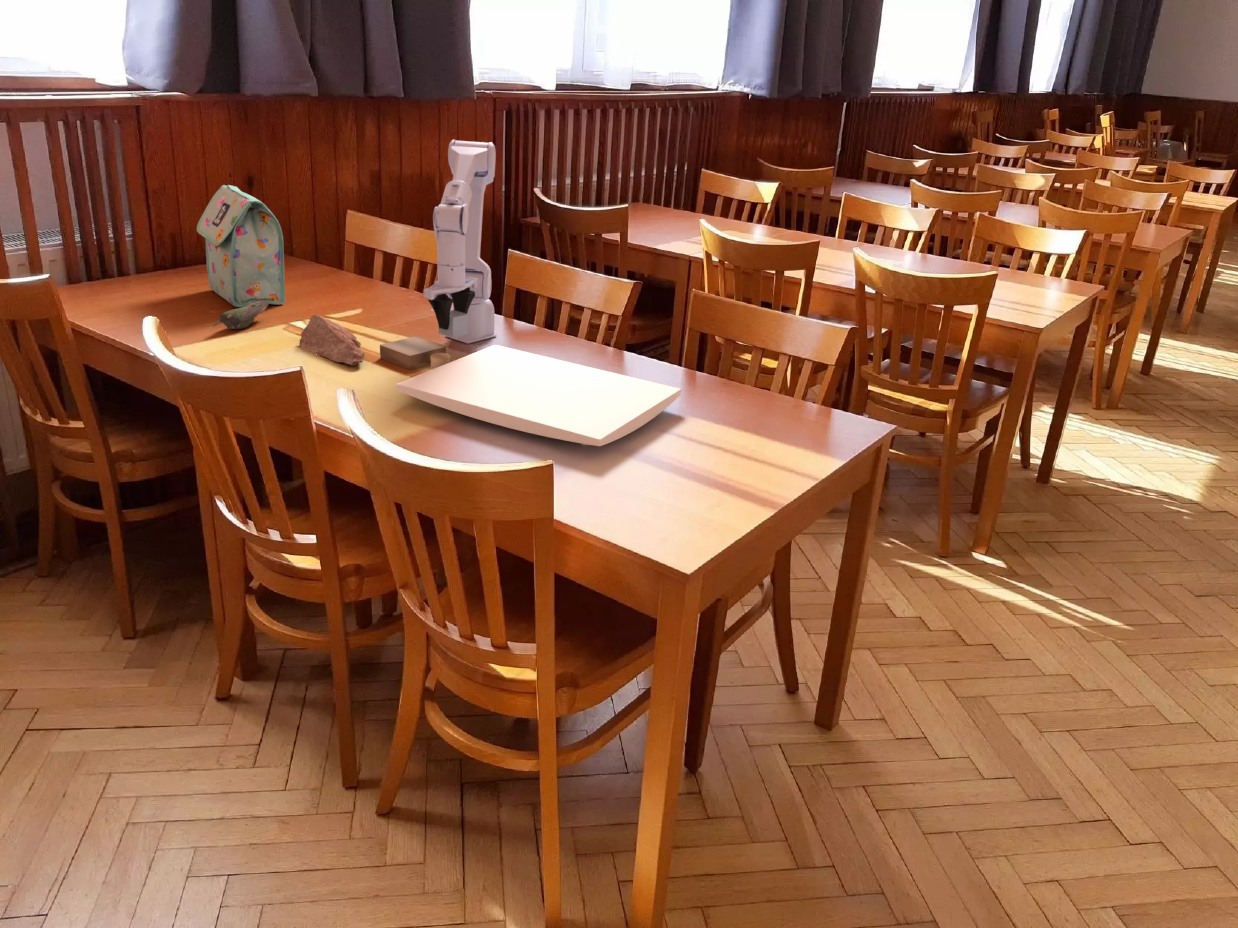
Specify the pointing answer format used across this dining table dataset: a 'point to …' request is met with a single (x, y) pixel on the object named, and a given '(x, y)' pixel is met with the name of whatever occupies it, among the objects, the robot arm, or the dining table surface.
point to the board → (542, 395)
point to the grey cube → (456, 324)
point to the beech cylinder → (439, 359)
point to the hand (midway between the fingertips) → (451, 326)
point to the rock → (331, 341)
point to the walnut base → (410, 352)
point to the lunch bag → (243, 248)
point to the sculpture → (242, 315)
